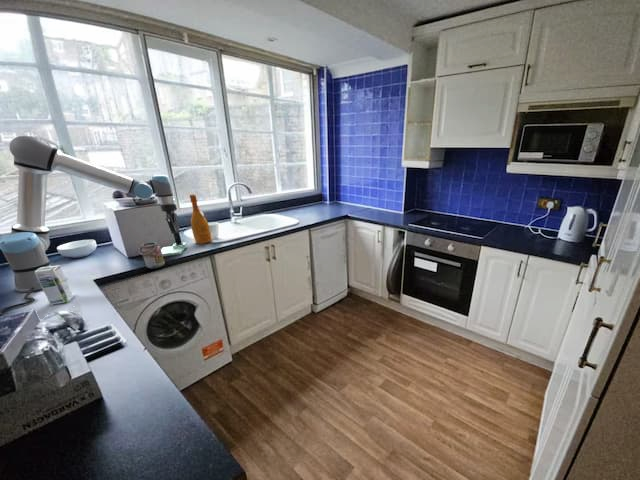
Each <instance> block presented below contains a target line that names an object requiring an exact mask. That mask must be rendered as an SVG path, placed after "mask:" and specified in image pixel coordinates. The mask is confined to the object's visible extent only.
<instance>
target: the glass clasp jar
mask: <svg viewBox="0 0 640 480" xmlns="http://www.w3.org/2000/svg"><path fill="white" fill-rule="evenodd" d="M161 249H162V248H161V247H160V245H159V244H158V242H155V241H151V242H149V241H148V242H145V243H141V246H140V248H139V249H138V254H139V255H141V256H142V257H143V260H144V263H145V266H146V268H148V269H150V270H153V269H158V268H161V267H164V266H165V264H166V262H165V259H164V256H163V255H162V252H161Z"/></svg>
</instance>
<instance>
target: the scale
mask: <svg viewBox="0 0 640 480" xmlns="http://www.w3.org/2000/svg"><path fill="white" fill-rule="evenodd" d="M182 243H183V244H182V245H177V246H176V245H175V244H176V243H173V244H172V246H163V247H162V248H160V249H161V252H162V255H163V257H168V256H169V257H170V256H178V255H181V254H182V253H183V252H184V250H185V249H186V248H187V243H186V242H182Z"/></svg>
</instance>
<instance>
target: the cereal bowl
mask: <svg viewBox="0 0 640 480" xmlns="http://www.w3.org/2000/svg"><path fill="white" fill-rule="evenodd" d="M97 245H98V244H97V242H96V240H95V239H82V240H81V239H80V240H75V241H70V242H67V243H63V244H60V245H58V246H57V247H56V250H57V252H58V253H59V255H61V256H63V257H67V258H73V259H78V258H85V257H87V256H90V255H91V254H92V253H93V252H95V251H96V249H97V247H98V246H97Z"/></svg>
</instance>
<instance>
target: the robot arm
mask: <svg viewBox="0 0 640 480" xmlns="http://www.w3.org/2000/svg"><path fill="white" fill-rule="evenodd" d="M8 148H9V151H10V153H11V155H12V157H13V166H15V167H16V168H17V169H18V182H17V183H18V185H17V211H16V223H14V224H12V225H11V230H10V231H11V233H10V234H7V235H3V236H2V237H0V251H1V252H2V254H3V256H4V258H5V260H6V261H7V263H8V265H9V267H10V268H11V270H12V272H13V275H14V289H15V290H16V292H18V293H25V295H24V296H23V299H24V300H27V301H24V302H20V303H16V304H12V305H9V306H6V307H3V308H1V309H0V317H1V316H3V315H5V314H4V312H5V311H7V310H11V309H15V308H18V307H21V306H25V305H29V304H31V303H33V302H34V301H35V300H36V299H35V297H29V296H30V295H31V293H32V292H37V291H41V290H42V291H43V289H42V287H41V285H40V283H39V281H38V279H37V277H36V275H35V273H34V272H35V271H36V270H37V269H39V268H41V267H49V266H52V264H51V262H50V260H49V258H48V256H47V253H46V251H48V249H49V248H50V245H51V240H50V229H49V227H47V226H46V209H47V193H48V192H47V190H48V176H49V175H50V174H52V173H53V172H54V171H59V172H62V173H65V174H68V175H71V176H74V177H77V178H79V179H83V180H87V181H89V182H93V183H96V184H99V185H102V186H103V187H104V186H105V187H108V188H111V189H114V190H116V191H120V192H123V193H127V194H129V195H130V196H131V197H137V198H139V199H142V200H146V199H150V198H151V197H152V196H153V195H157V199H158V204H160V205H159V206H160V209H161V212H165V216H166V217H165V221H166V222H167V225H168V228H169V230H170V234H173V238H174V241H175V244H180V243H182V238H181V235H180V233H181V230H180V225H179V220H178V214H177V213H175V211H177V210H178V208H177V207H178V206H177V203H176V201H175V199H176V197H175V196H174V193H173V189H172V185H171V182H170V178H169V176H168V175H166V174H155V175H152V176H151V179H145V180H137V179H134V178H131V177H129V176H127V175H123V174H120V173H117V172H116V171H112V170H110V169H107V168H104V167H101V166H98V165H96V164H93V163H90V162H87V161H85V160H82V159H79V158H77V157H74V156H71V155H68V154H66V153H63V152H62V151H61V150H60V149H58V148H56V147H53V146H52V145H51V144H50V143H49V142H47V141H46V140H44V139H42V138H39V137H36V136H31V135H30V136H29V135H20V136H16V137H14V138H12V140H11V141H10V142H9V145H8Z"/></svg>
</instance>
